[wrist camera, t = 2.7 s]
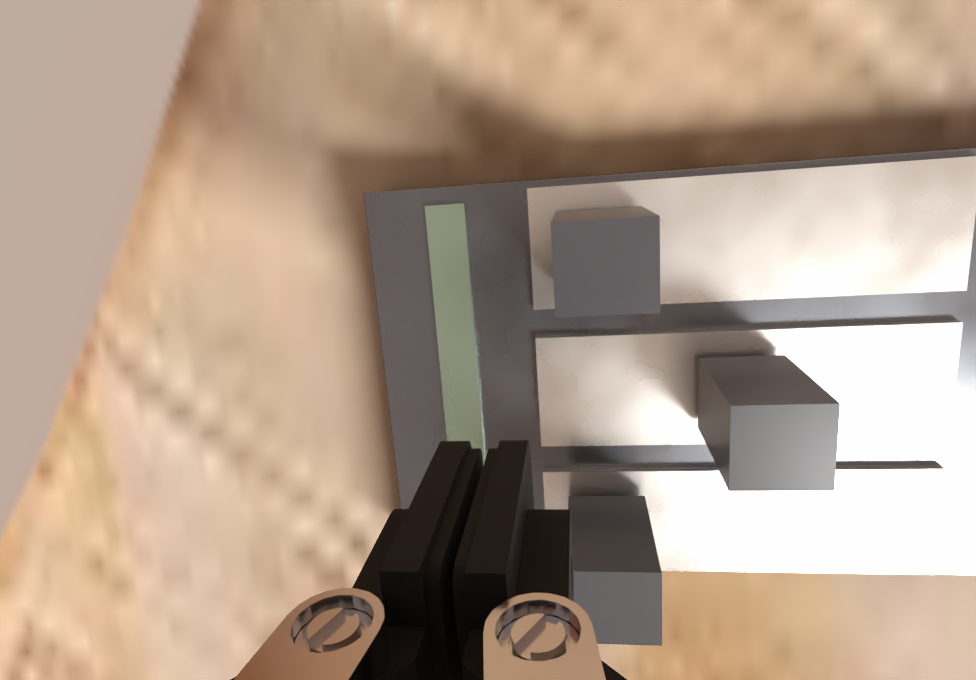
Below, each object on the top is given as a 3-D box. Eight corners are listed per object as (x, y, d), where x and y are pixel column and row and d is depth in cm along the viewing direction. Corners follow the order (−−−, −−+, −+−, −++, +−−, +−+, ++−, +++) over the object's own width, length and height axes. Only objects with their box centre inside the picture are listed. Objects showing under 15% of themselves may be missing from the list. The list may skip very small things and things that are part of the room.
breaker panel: (1057, 540, 21) (1113, 583, 19) (420, 535, 24) (406, 572, 22) (1126, 136, 18) (1202, 131, 16) (382, 191, 21) (360, 193, 19)
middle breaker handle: (781, 425, 19) (834, 490, 15) (698, 427, 19) (729, 490, 15) (784, 354, 18) (840, 403, 15) (698, 357, 19) (730, 405, 15)
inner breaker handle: (645, 557, 21) (662, 645, 17) (571, 556, 21) (570, 642, 17) (644, 495, 20) (661, 572, 16) (568, 496, 20) (567, 571, 17)
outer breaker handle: (642, 283, 18) (659, 312, 15) (558, 287, 19) (554, 317, 15) (641, 205, 18) (659, 215, 14) (555, 211, 18) (550, 222, 14)
